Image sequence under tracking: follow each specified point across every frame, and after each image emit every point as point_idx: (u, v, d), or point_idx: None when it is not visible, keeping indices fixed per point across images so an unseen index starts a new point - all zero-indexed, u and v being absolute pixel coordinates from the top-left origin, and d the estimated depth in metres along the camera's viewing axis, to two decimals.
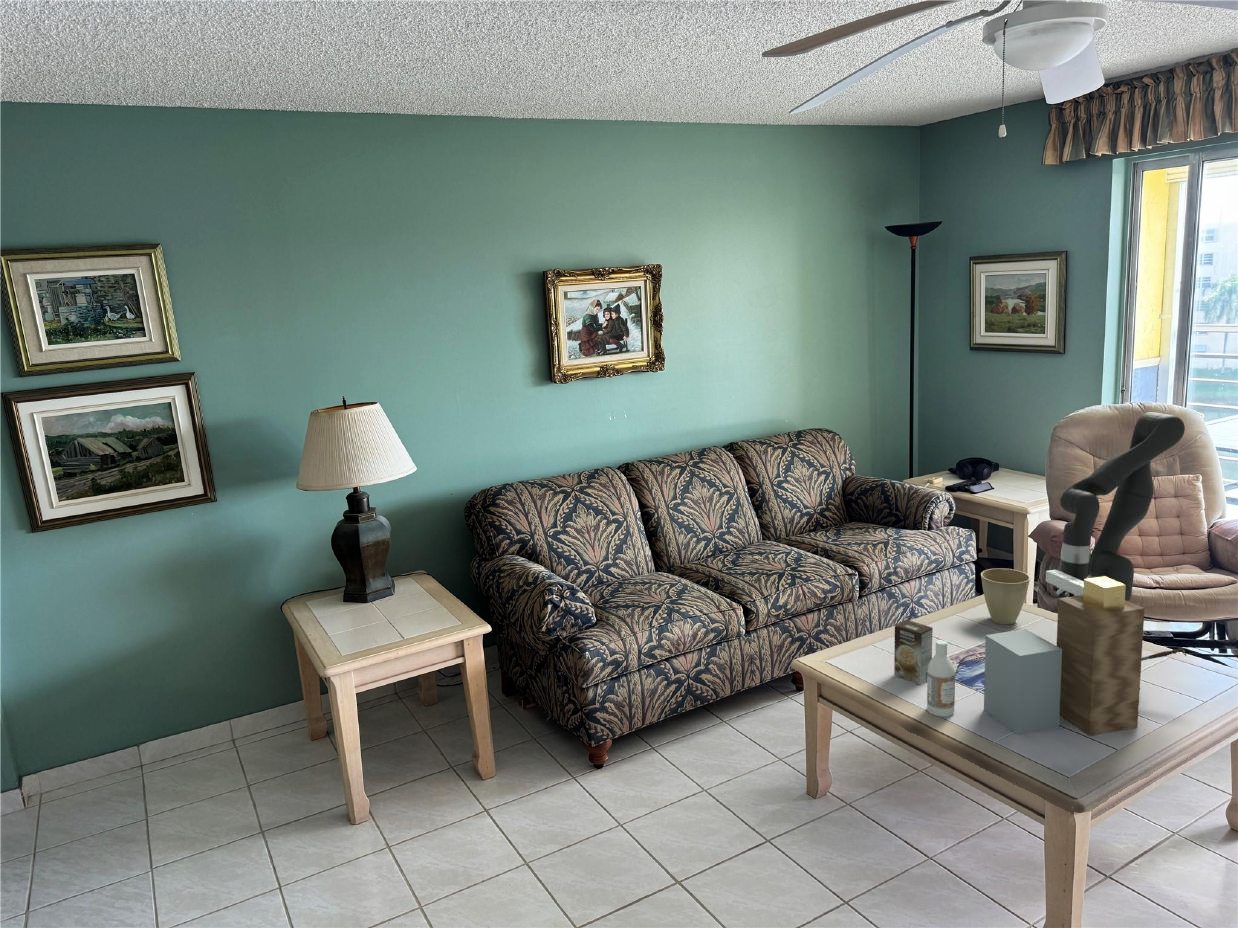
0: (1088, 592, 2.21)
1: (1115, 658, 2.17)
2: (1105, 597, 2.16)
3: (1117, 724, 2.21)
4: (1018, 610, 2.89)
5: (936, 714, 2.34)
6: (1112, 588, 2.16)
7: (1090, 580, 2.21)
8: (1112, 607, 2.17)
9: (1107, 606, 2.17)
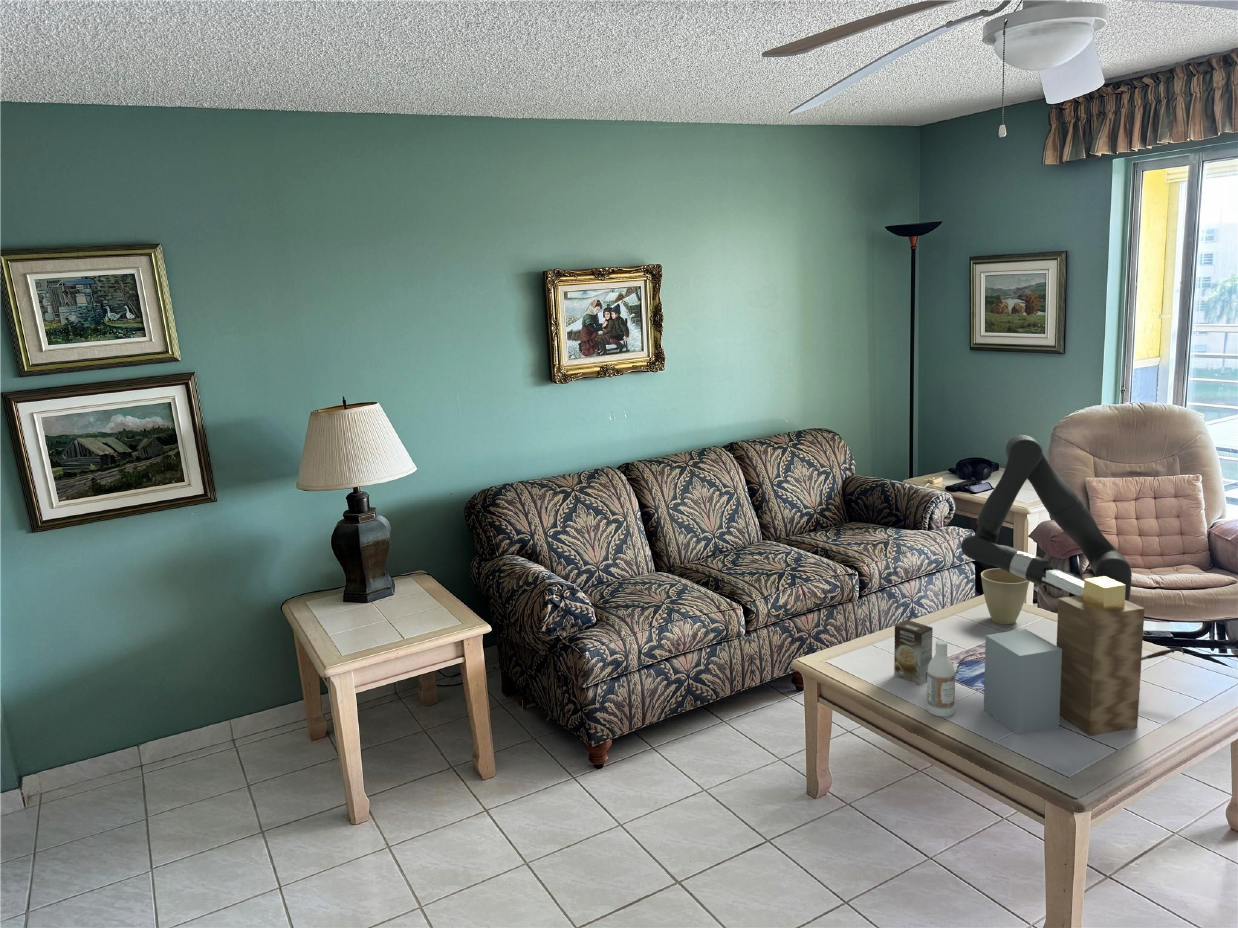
0: (1088, 592, 2.21)
1: (1115, 658, 2.17)
2: (1105, 597, 2.16)
3: (1117, 724, 2.21)
4: (1018, 610, 2.89)
5: (936, 714, 2.34)
6: (1112, 588, 2.16)
7: (1090, 580, 2.21)
8: (1112, 607, 2.17)
9: (1107, 606, 2.17)
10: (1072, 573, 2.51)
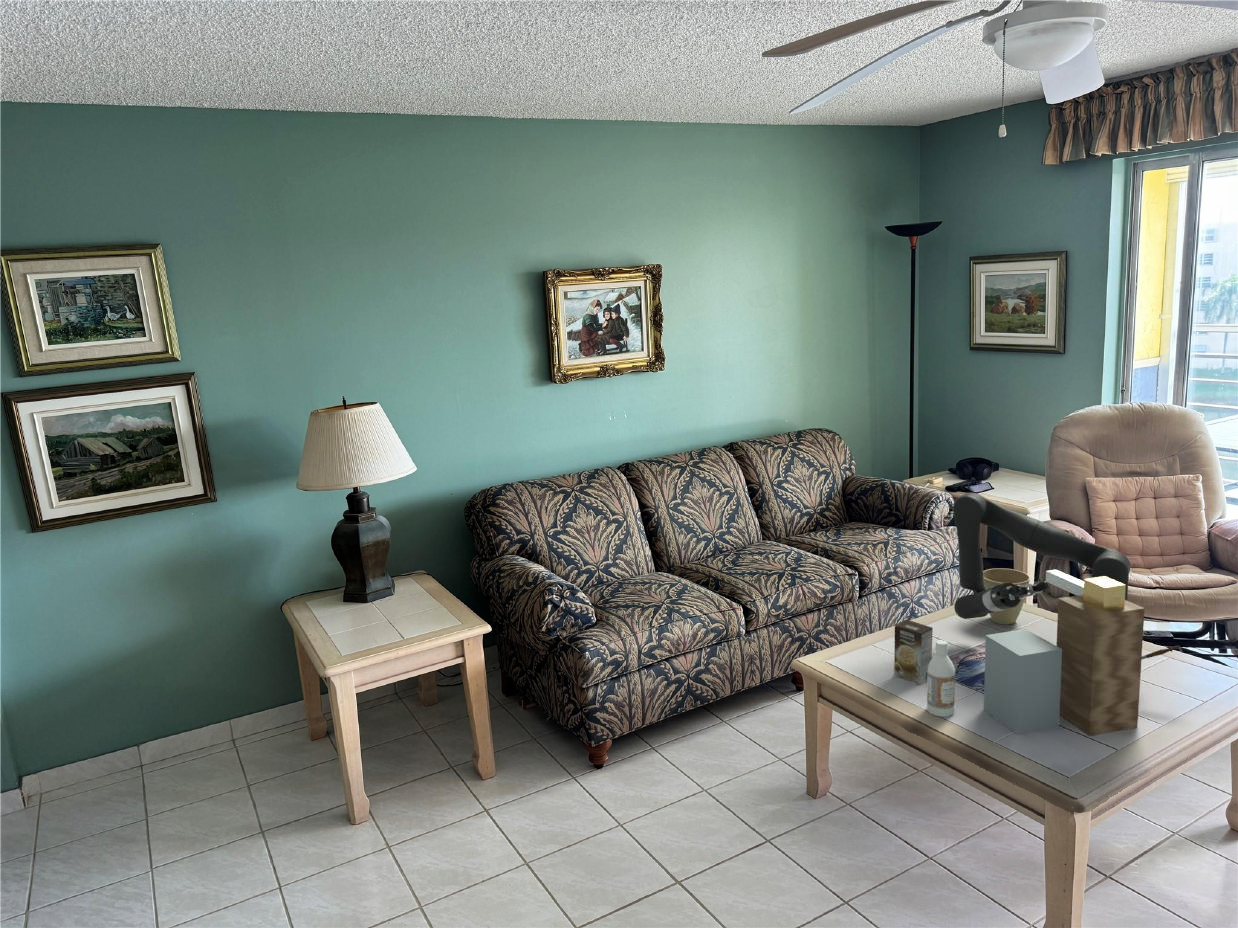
0: (1088, 592, 2.21)
1: (1115, 658, 2.17)
2: (1105, 597, 2.16)
3: (1117, 724, 2.21)
4: (1018, 610, 2.89)
5: (936, 714, 2.34)
6: (1112, 588, 2.16)
7: (1090, 580, 2.21)
8: (1112, 607, 2.17)
9: (1107, 606, 2.17)
10: None
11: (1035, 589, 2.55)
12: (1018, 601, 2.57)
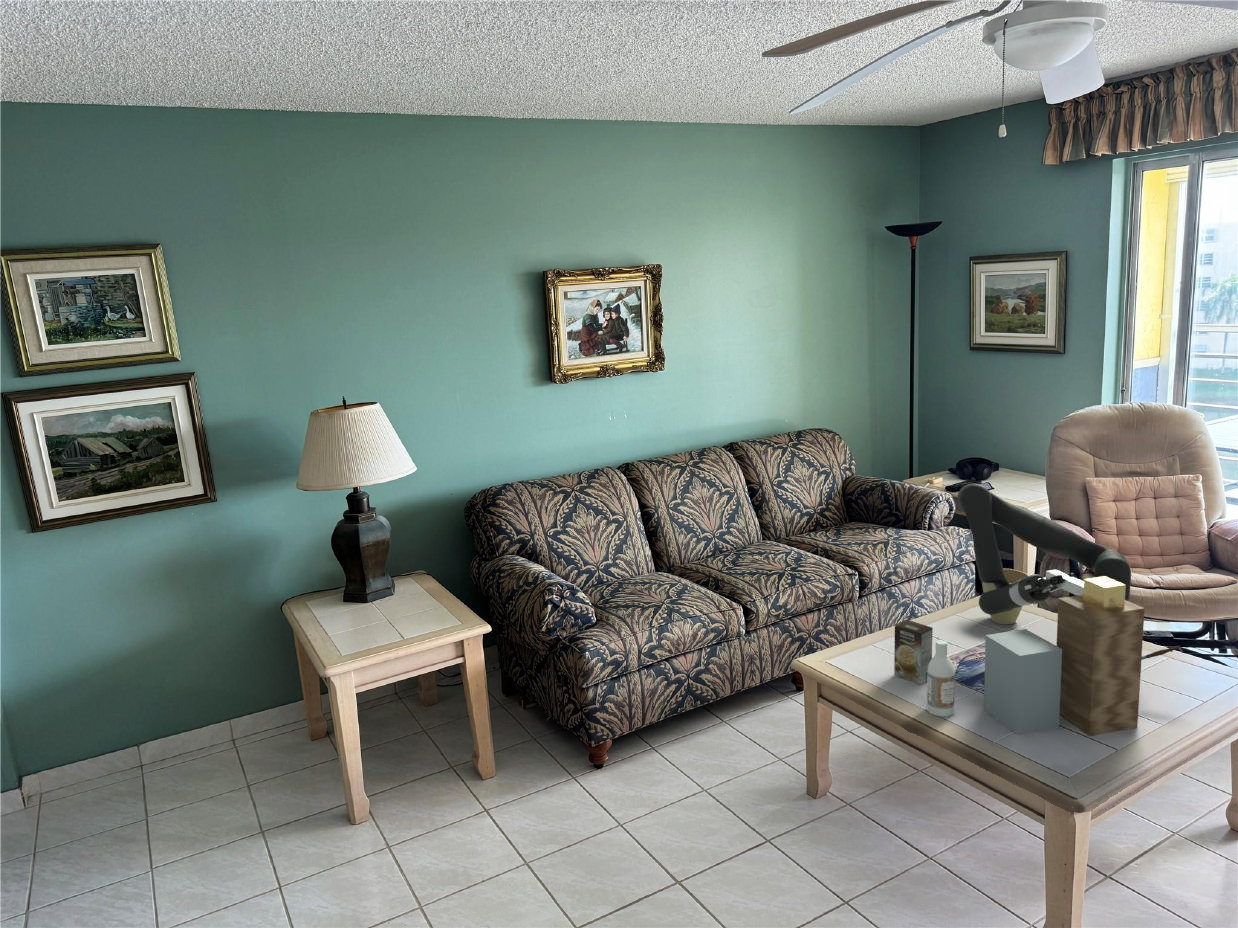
0: (1088, 592, 2.21)
1: (1115, 658, 2.17)
2: (1105, 597, 2.16)
3: (1117, 724, 2.21)
4: (1018, 610, 2.89)
5: (936, 714, 2.34)
6: (1112, 588, 2.16)
7: (1090, 580, 2.21)
8: (1112, 607, 2.17)
9: (1107, 606, 2.16)
10: None
11: None
12: (1048, 594, 2.44)
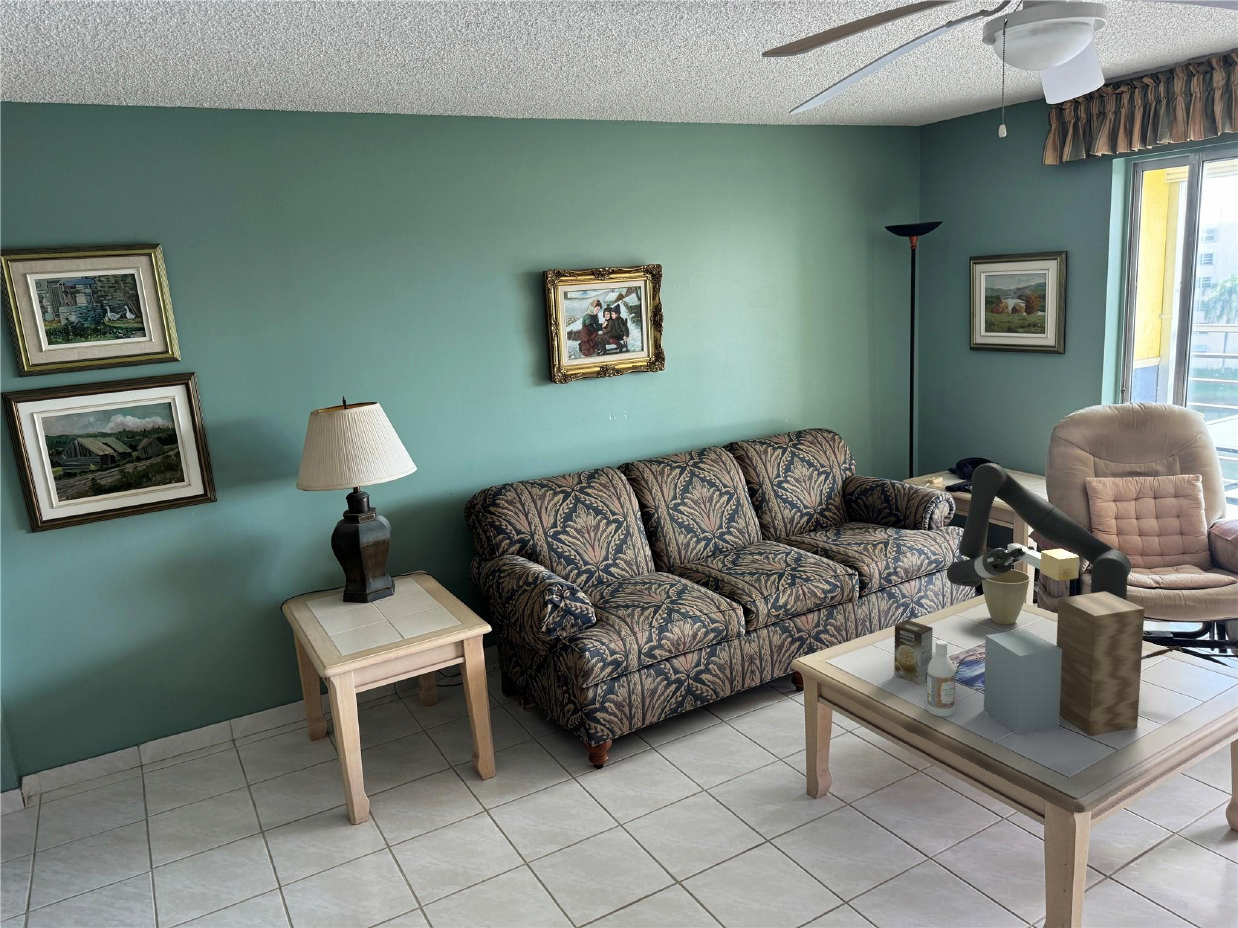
0: (1044, 563, 2.33)
1: (1115, 658, 2.17)
2: (1059, 567, 2.28)
3: (1117, 724, 2.21)
4: (1018, 610, 2.89)
5: (936, 714, 2.34)
6: (1066, 560, 2.28)
7: (1046, 552, 2.33)
8: (1066, 578, 2.29)
9: (1061, 576, 2.29)
10: None
11: None
12: (1010, 567, 2.56)
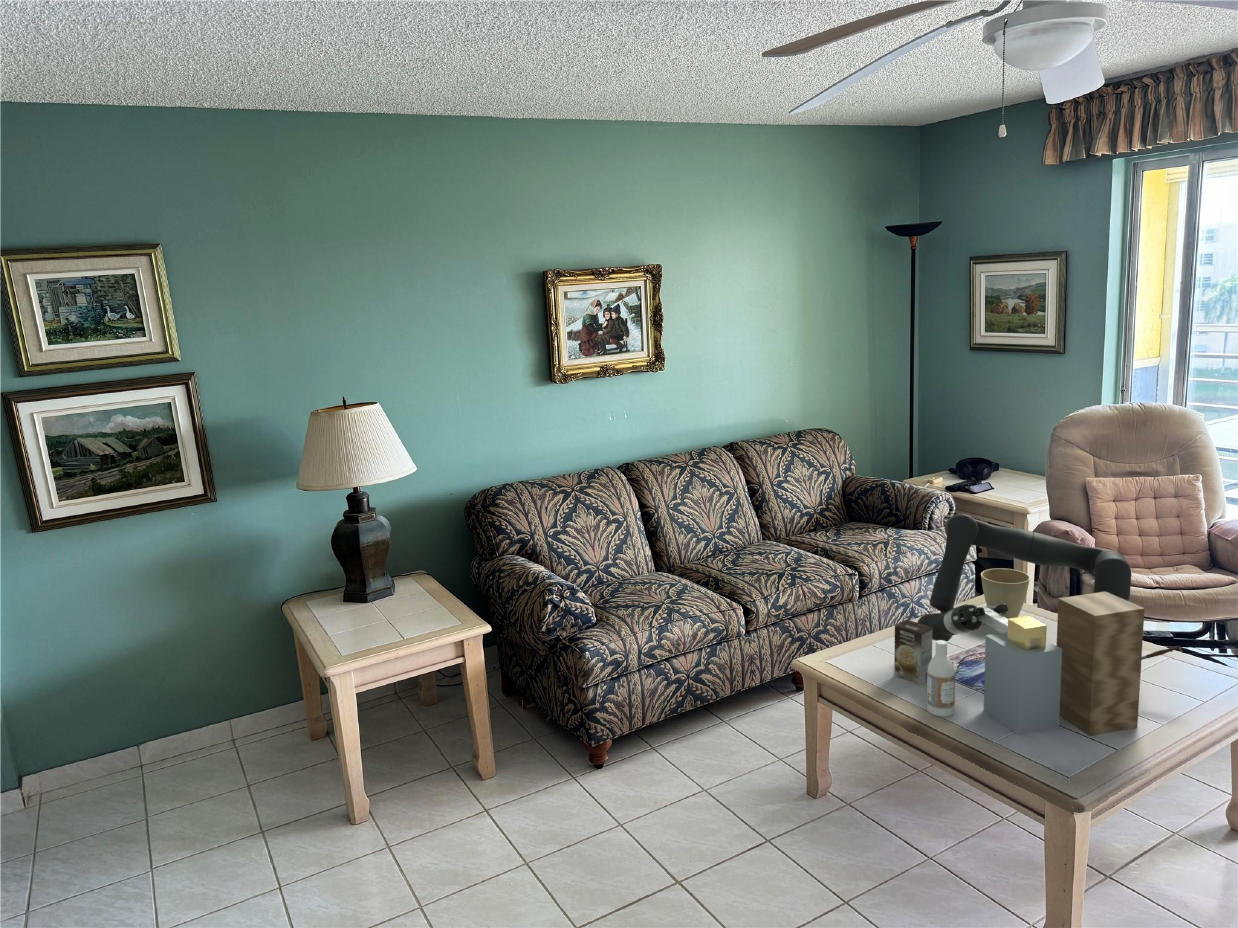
0: (1011, 632, 2.26)
1: (1115, 658, 2.17)
2: (1026, 637, 2.20)
3: (1117, 724, 2.21)
4: (1018, 610, 2.89)
5: (936, 714, 2.34)
6: (1033, 629, 2.20)
7: (1013, 620, 2.25)
8: (1033, 647, 2.21)
9: (1028, 646, 2.21)
10: None
11: None
12: (979, 623, 2.48)
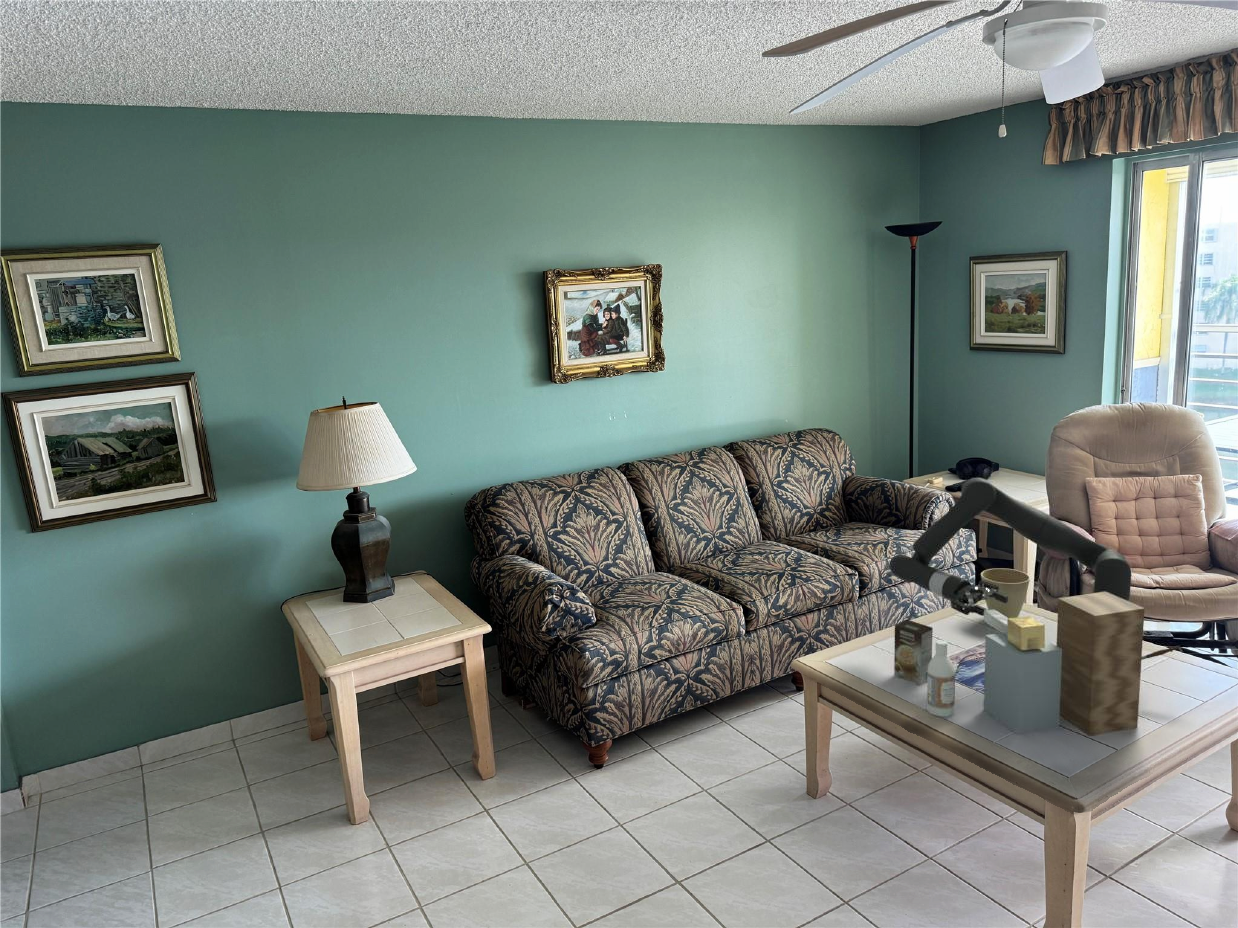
0: (1010, 631, 2.25)
1: (1115, 658, 2.17)
2: (1022, 636, 2.19)
3: (1117, 724, 2.21)
4: (1018, 610, 2.89)
5: (936, 714, 2.34)
6: (1030, 628, 2.19)
7: (1012, 620, 2.24)
8: (1031, 647, 2.20)
9: (1025, 645, 2.20)
10: (990, 583, 2.53)
11: (987, 588, 2.53)
12: None
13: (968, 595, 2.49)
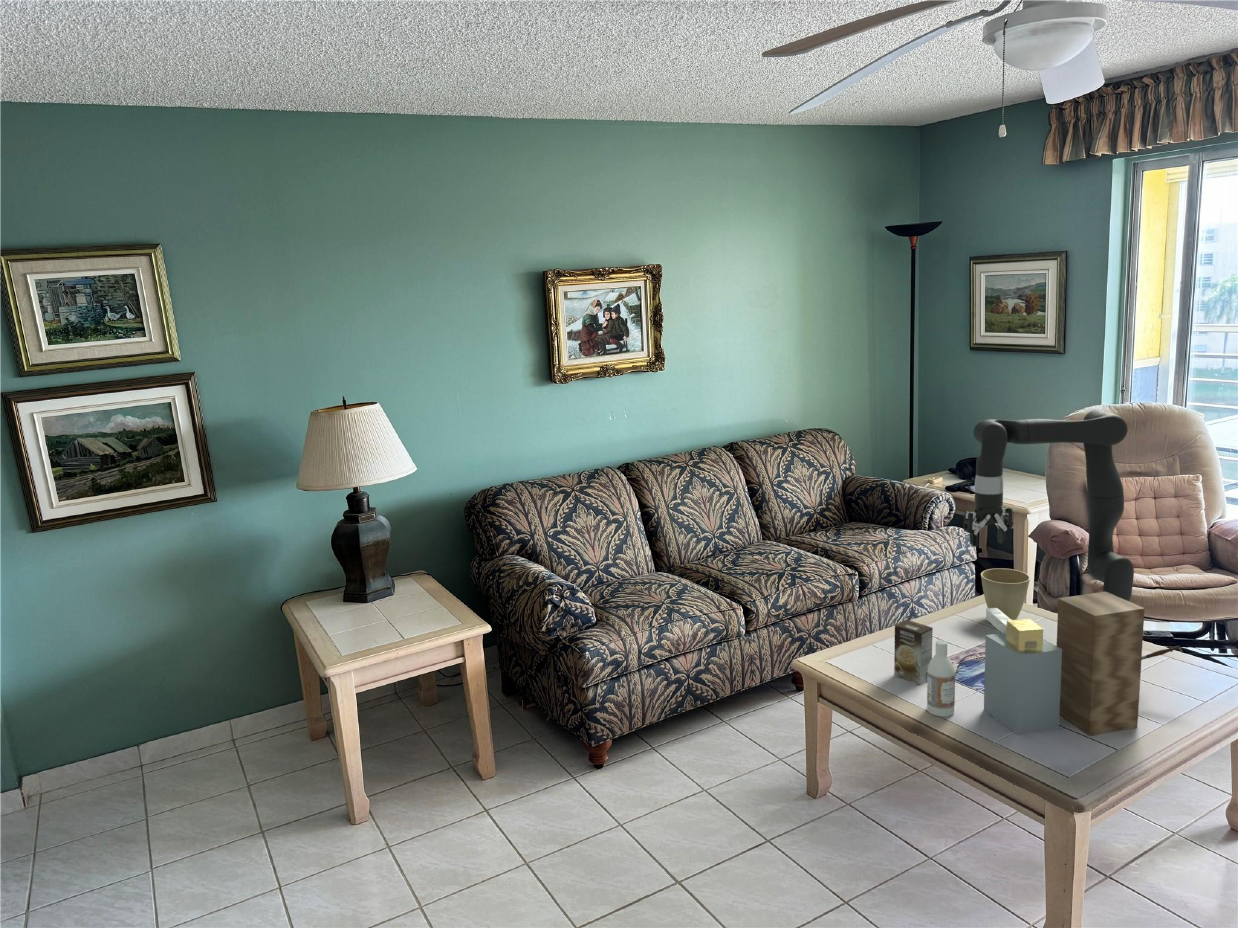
0: (1009, 633, 2.25)
1: (1115, 658, 2.17)
2: (1020, 639, 2.19)
3: (1117, 724, 2.21)
4: (1018, 610, 2.89)
5: (936, 714, 2.34)
6: (1028, 632, 2.19)
7: (1011, 622, 2.24)
8: (1028, 650, 2.20)
9: (1023, 649, 2.20)
10: (1011, 518, 2.53)
11: (1006, 516, 2.54)
12: None
13: (984, 521, 2.50)
